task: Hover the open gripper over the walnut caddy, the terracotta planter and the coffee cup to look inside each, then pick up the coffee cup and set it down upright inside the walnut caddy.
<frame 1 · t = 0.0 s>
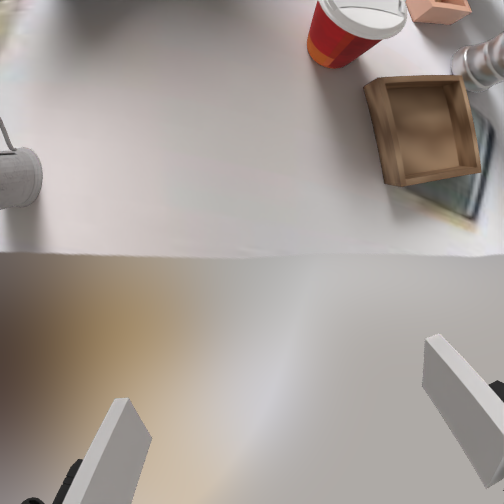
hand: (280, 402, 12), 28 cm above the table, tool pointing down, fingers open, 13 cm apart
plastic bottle: (462, 72, 33), on the table
cork ball: (426, 1, 30), point 1 cm above the table, touching planter
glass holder: (23, 158, 37), on the table
planter: (424, 3, 30), on the table
caddy: (416, 129, 36), on the table
coffee cup: (329, 47, 33), on the table
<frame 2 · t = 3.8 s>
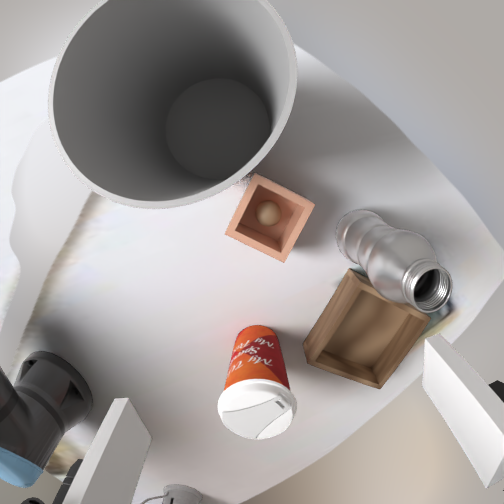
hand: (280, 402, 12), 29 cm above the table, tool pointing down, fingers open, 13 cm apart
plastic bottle: (356, 232, 40), on the table
cylinder vase: (219, 129, 37), on the table
cork ball: (267, 211, 39), point 1 cm above the table, touching planter
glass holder: (173, 488, 55), on the table
planter: (267, 210, 39), on the table
caddy: (361, 324, 43), on the table
coffee cup: (256, 343, 44), on the table
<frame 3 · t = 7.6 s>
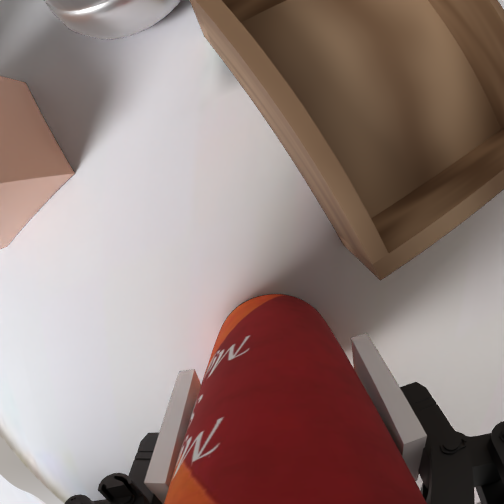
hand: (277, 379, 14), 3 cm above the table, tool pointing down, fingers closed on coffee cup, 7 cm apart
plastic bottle: (137, 1, 12), on the table
planter: (11, 165, 14), on the table
caddy: (380, 76, 13), on the table
coffee cup: (273, 343, 17), on the table, touching gripper
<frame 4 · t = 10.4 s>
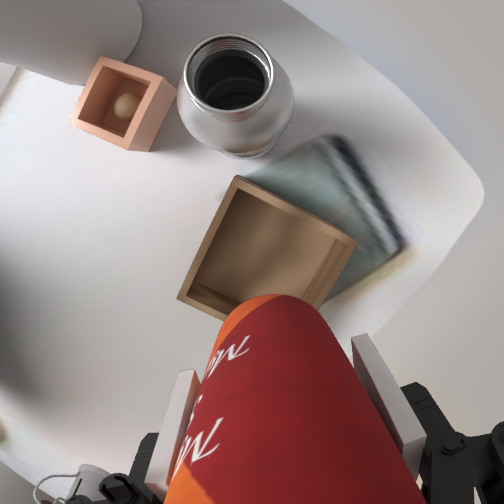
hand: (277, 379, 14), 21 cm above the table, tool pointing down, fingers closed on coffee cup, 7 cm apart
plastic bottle: (244, 128, 31), on the table
cylinder vase: (95, 37, 28), on the table
cork ball: (133, 108, 29), point 1 cm above the table, touching planter
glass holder: (87, 469, 45), on the table
planter: (135, 109, 30), on the table
caddy: (264, 256, 34), on the table
coffee cup: (273, 343, 17), point 17 cm above the table, touching gripper
when the fingers open (5 cm above the table, at t = 13.4 s): coffee cup drops 2 cm, resting on caddy.
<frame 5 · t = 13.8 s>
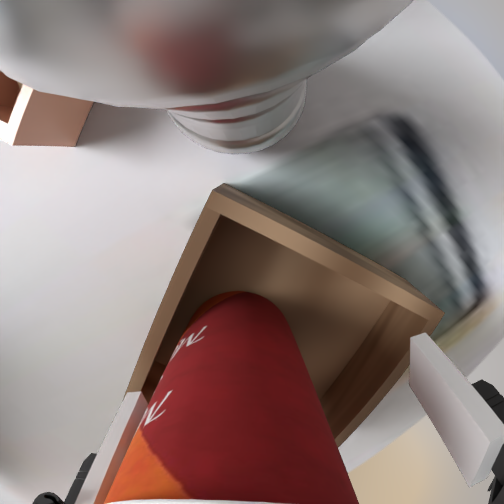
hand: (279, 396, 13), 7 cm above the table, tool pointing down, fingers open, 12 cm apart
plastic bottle: (236, 97, 16), on the table
planter: (58, 79, 15), on the table
caddy: (272, 324, 19), on the table
coffee cup: (238, 336, 19), point 1 cm above the table, touching caddy
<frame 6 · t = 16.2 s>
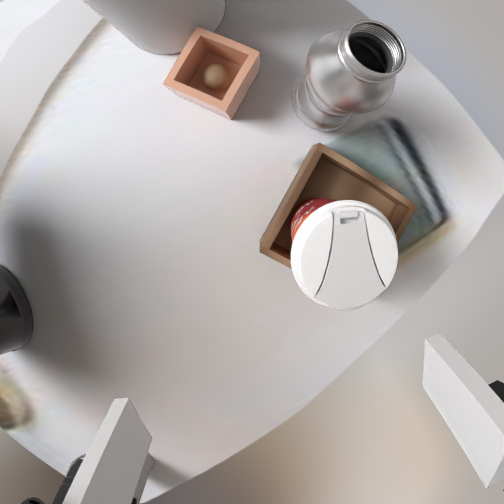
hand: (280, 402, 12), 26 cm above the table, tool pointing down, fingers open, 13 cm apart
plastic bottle: (318, 106, 34), on the table
cylinder vase: (175, 13, 31), on the table
cork ball: (217, 80, 33), point 1 cm above the table, touching planter
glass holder: (122, 448, 49), on the table
planter: (218, 81, 33), on the table
caddy: (332, 219, 37), on the table
coffee cup: (316, 223, 36), point 1 cm above the table, touching caddy
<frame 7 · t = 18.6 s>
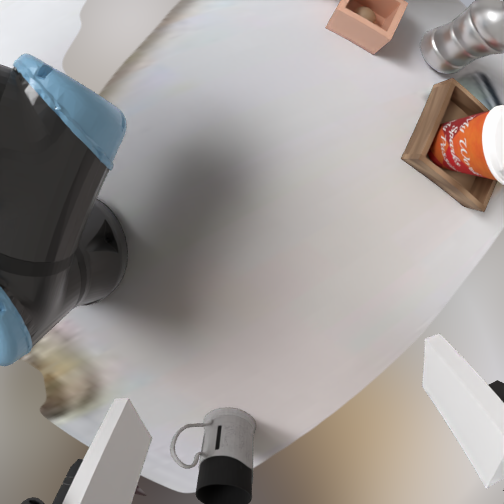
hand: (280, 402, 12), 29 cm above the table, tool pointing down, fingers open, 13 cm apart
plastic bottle: (434, 55, 33), on the table
cork ball: (360, 21, 32), point 1 cm above the table, touching planter
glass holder: (217, 416, 48), on the table
planter: (359, 22, 32), on the table
caddy: (451, 145, 37), on the table
coffee cup: (442, 147, 36), point 1 cm above the table, touching caddy
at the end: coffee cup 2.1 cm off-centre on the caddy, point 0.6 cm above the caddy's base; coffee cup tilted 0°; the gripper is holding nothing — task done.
